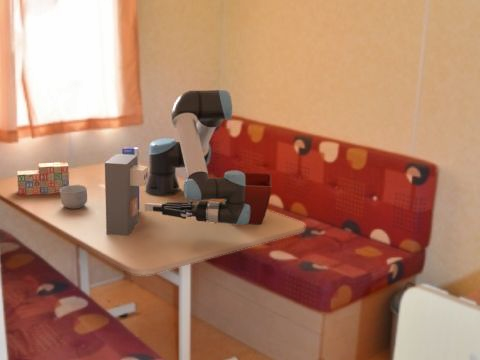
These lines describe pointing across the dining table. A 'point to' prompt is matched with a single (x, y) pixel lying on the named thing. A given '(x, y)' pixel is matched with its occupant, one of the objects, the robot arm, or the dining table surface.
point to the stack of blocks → (43, 179)
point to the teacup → (74, 196)
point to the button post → (119, 194)
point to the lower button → (133, 206)
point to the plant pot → (257, 195)
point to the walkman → (130, 151)
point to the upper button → (138, 175)
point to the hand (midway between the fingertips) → (145, 206)
